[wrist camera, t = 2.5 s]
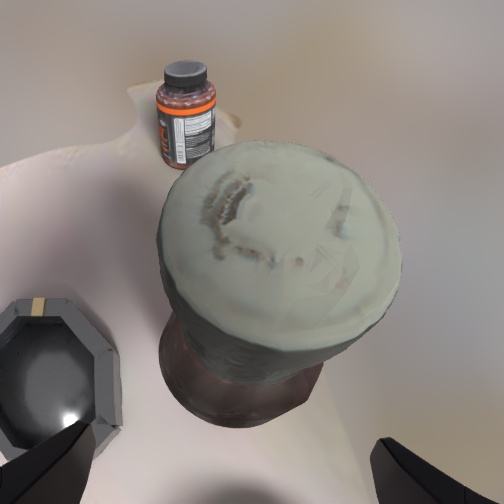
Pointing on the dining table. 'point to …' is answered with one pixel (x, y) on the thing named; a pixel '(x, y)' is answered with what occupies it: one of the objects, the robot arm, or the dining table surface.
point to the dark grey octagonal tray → (54, 376)
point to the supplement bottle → (186, 113)
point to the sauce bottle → (268, 277)
